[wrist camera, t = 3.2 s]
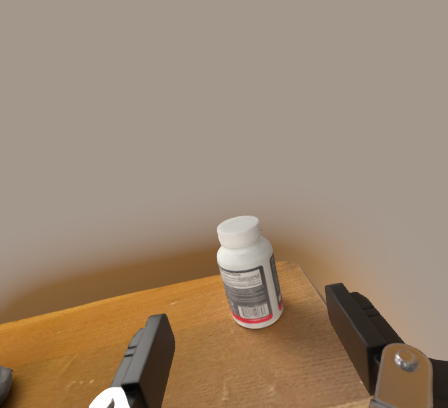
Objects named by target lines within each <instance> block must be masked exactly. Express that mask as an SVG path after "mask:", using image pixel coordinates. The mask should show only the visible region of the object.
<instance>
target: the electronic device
mask: <svg viewBox="0 0 448 408" xmlns="http://www.w3.org/2000/svg"><path fill="white" fill-rule="evenodd" d="M12 371H13V370H11V369H10V368H5V367H3V366H0V407H1V405H2V404H3V402H4V401H5V399H6V398H7V396H8V393H9V391H10V389H11V386H12Z"/></svg>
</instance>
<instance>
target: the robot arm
mask: <svg viewBox="0 0 448 408" xmlns="http://www.w3.org/2000/svg"><path fill="white" fill-rule="evenodd" d="M325 293H326V301H327V309H328V315H329V318H330V321H331V324H332V326H333V328H334V330H335V332H336V333H337V335H338V337H339V339H340V341H341V343H342V344H343V346H344V348H345V350H346V352H347V354H348V356H349V357H350V359H351V361H352V363H353V365H354V367H355V369H356V370H357V372H358V374H359V376H360V378H361V380H362V382H363V383H364V385H365V387H366V389H367V391H368V393H369V394H370V396H372V395H374V399H371V401H370V404H369V408H448V361H442V360H435V359H431V358H428V357H427V356H426V355H425V354H423V353H422V352H421V351H420V350H418V349H416V348H414V347H412V346H410V345H407V344H405V343H404V342H403V341H402V339H401V338H400V337H399V336H398V335H397V333H396V332H395V331H394V330H393V329H392V327H391V326H390V325H389V324H388V323H387V321H386V320H385V319H384V318H383V317H382V316H381V315H380V313H379V312H378V311H377V310H376V308H374V306H373V305H372V303H371V302H370V301H369V300H368V299H367V298H366V297H364V296H363V295H361V294H359V293H358V292H352V293H349V292H348V290H347V289H346V287H345V286H344V285H343V284H342V283H337V284H331V285H326V286H325ZM174 352H175V339H174V335H173V332H172V329H171V326H170V324H169V321H168V318H167V315H166V314H159V315H153V316H150V317H149V318H148V321H147V323H146V325H145V328H141V329H140V330H139V331H138V332H137V333H136V334H135V335H134V337H133V338H132V340H131V342H130V344H129V346H128V349H127V351H126V353H125V355H124V358H123V359H122V362H121V364H120V366H119V368H118V370H117V372H116V375H115V377H114V379H113V381H112V383H111V385H110V388H109V389H107V390H105V391H103V392H102V393H101V394H99V395H98V396H97V397H96V398H95V399H94V400H93V402H92V403H91V404H90V406H89V408H161V406H162V402H163V397H164V393H165V389H166V385H167V381H168V377H169V372H170V368H171V364H172V360H173V356H174Z"/></svg>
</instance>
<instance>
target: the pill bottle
mask: <svg viewBox="0 0 448 408" xmlns="http://www.w3.org/2000/svg"><path fill="white" fill-rule="evenodd" d="M261 231H262V230H261V227H260V223H259V220H258V219H257V218H256V217H253V216H240V217H234V218H231V219H228V220H226V221H224V222H222V223H221V224H220V225H219V226H218V227H217V233H218V237H219V241H220V243H221V245H222V246H221V247H220V249H219V250H218V253H217V262H218V265H219V269H220V272H221V276H222V280H223V284H224V288H225V291H226V295H227V299H228V302H229V306H230V309H231V313H232V316H233V318H234V319H235V321H236V322H237V323H238V324H239V325H241V326H244V327H246V328H252V329H257V328H263V327H267V326H269V325H271V324H273V323H274V322H275V321H277V320H278V318H279V317H280V316H281V314H282V312H283V302H282V295H281V291H280V286H279V281H278V275H277V270H276V265H275V260H274V254H273V249H272V246H271V244H270V242H269V241H268V240H267V239H266V238H264V237H262V236H261V235H262V233H261Z"/></svg>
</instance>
